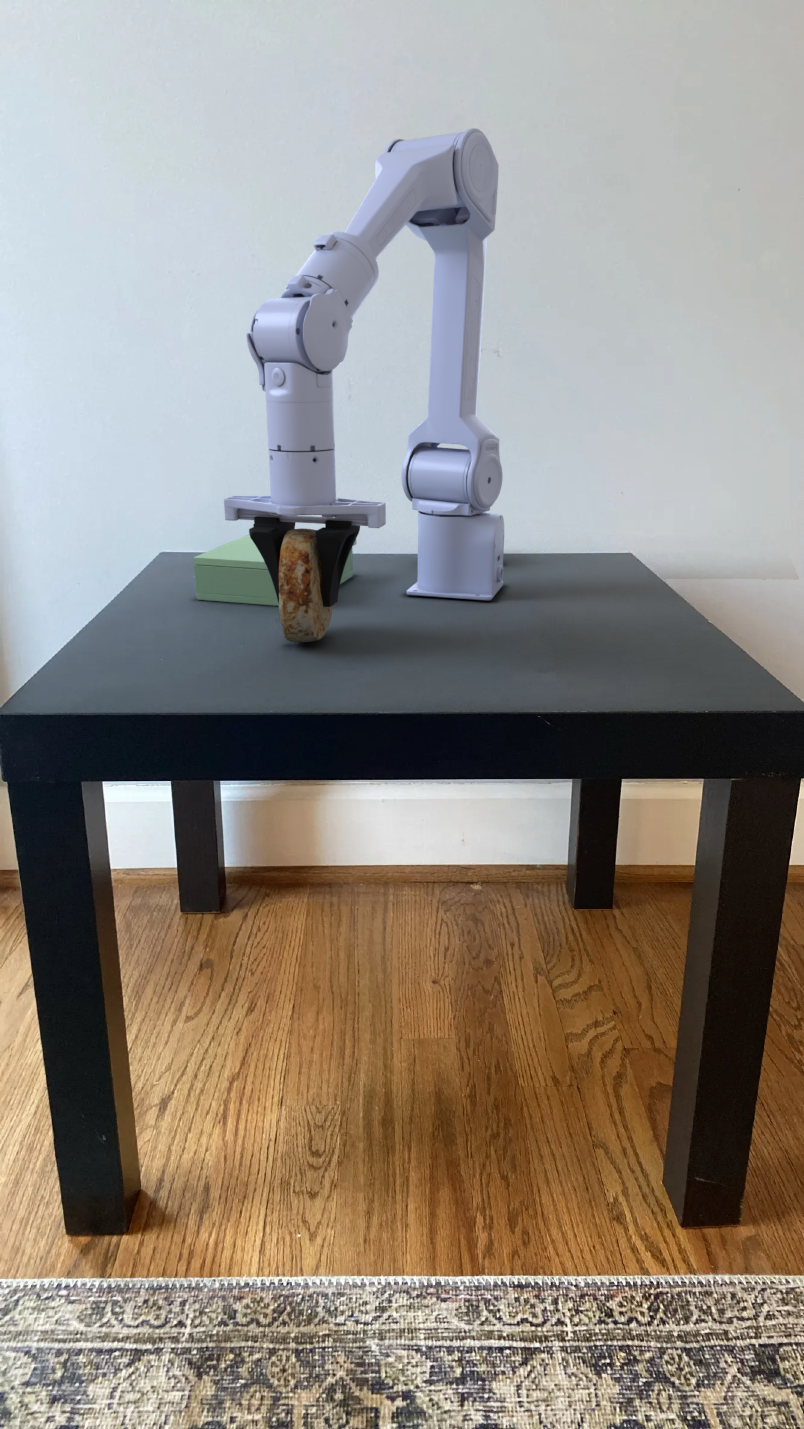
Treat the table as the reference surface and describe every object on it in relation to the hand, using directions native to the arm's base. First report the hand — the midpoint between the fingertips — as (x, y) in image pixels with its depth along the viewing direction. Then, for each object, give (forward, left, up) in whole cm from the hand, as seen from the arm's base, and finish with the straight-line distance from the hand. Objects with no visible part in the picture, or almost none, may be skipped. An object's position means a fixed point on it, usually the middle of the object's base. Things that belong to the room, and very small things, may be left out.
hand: (307, 602), depth 86 cm
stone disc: (0, 0, -4) cm, 4 cm away
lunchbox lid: (+11, -19, 0) cm, 22 cm away
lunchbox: (+11, -19, -4) cm, 22 cm away
